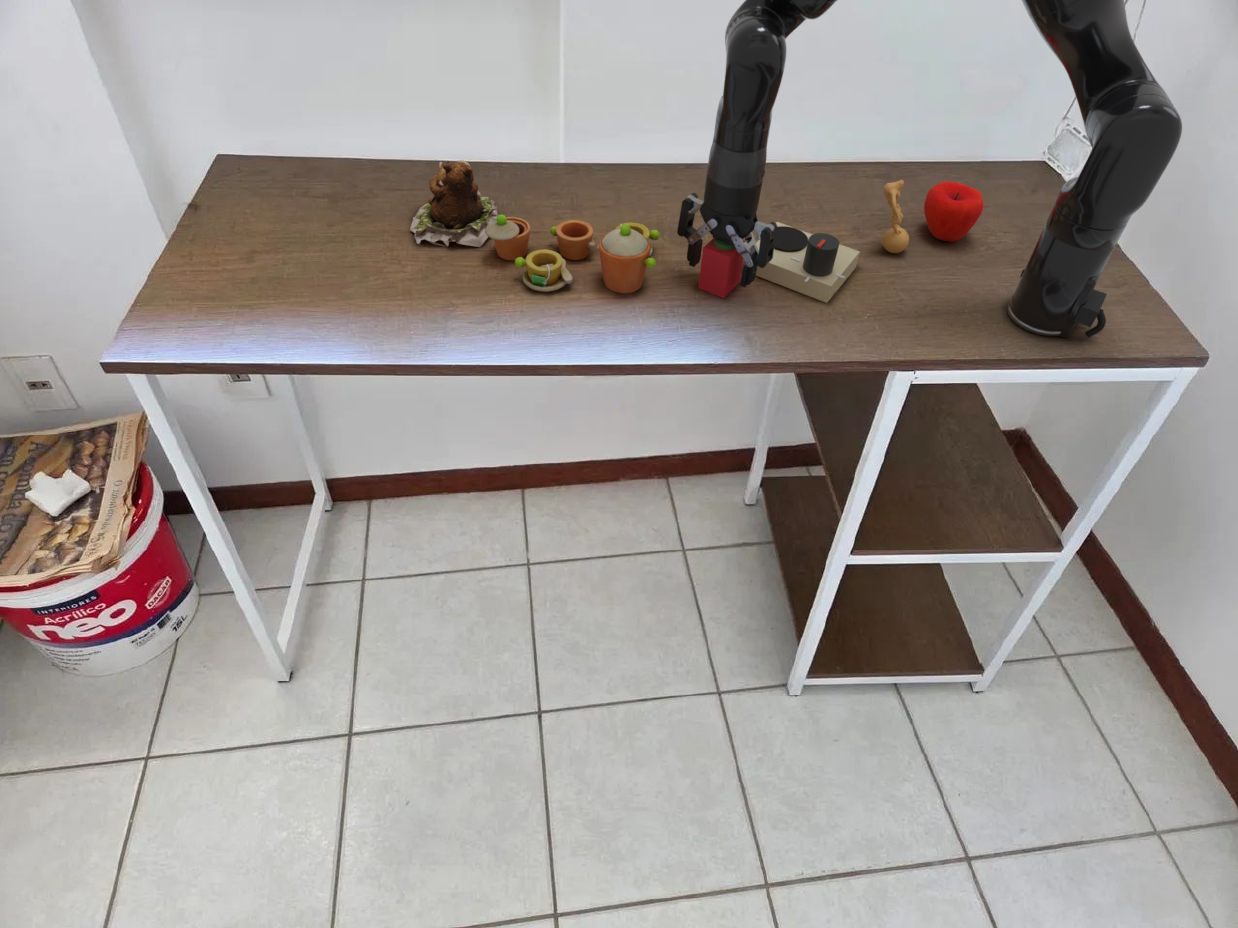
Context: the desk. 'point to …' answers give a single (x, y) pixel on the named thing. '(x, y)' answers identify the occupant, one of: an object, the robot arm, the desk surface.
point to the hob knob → (820, 254)
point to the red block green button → (720, 268)
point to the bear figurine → (454, 208)
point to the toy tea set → (576, 252)
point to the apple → (952, 210)
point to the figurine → (895, 236)
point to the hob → (793, 276)
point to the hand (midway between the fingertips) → (719, 274)
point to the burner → (790, 239)
